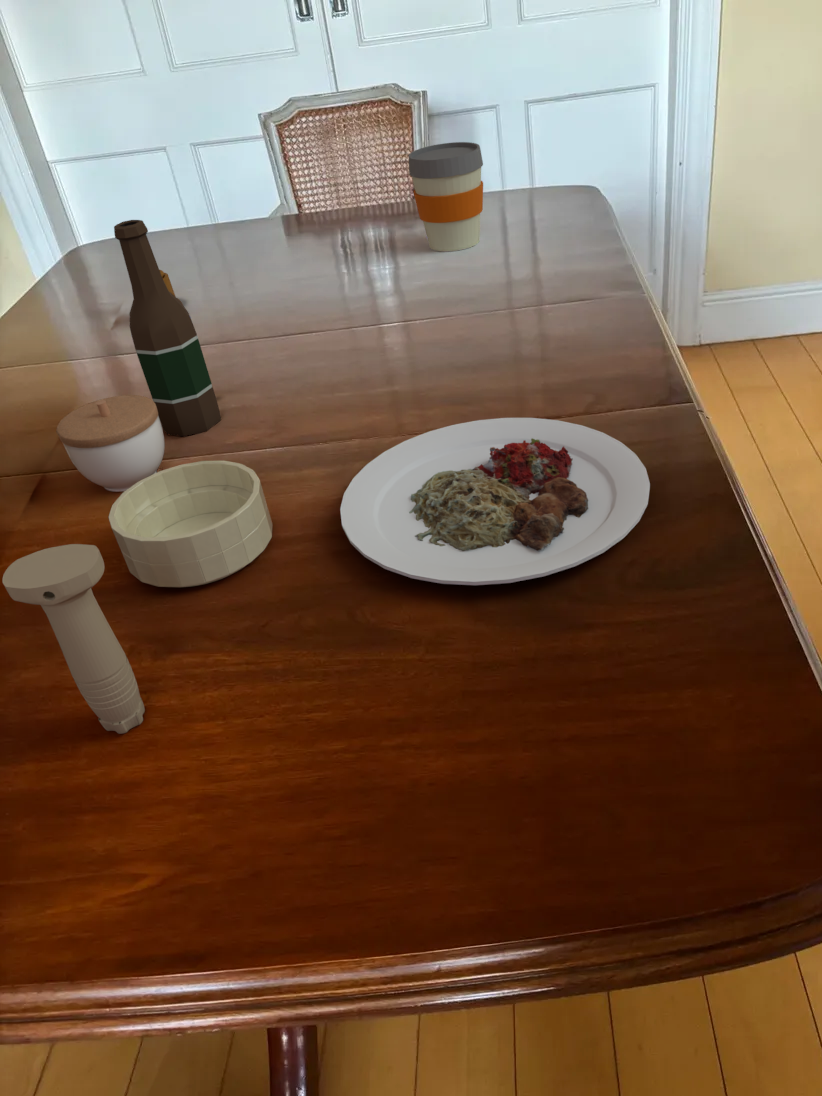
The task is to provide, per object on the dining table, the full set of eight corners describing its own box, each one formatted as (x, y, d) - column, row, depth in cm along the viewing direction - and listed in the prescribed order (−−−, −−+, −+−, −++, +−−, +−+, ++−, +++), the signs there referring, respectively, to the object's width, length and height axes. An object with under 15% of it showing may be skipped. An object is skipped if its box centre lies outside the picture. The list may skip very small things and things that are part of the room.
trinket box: (96, 514, 96) (63, 436, 91) (71, 477, 104) (39, 403, 98) (190, 478, 100) (164, 401, 95) (159, 445, 108) (133, 372, 102)
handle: (89, 707, 72) (12, 554, 62) (169, 692, 72) (104, 537, 63) (79, 751, 68) (-6, 595, 59) (163, 735, 68) (93, 577, 59)
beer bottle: (171, 411, 115) (106, 217, 101) (229, 406, 114) (172, 209, 100) (153, 440, 109) (81, 237, 95) (214, 435, 108) (151, 229, 94)
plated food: (309, 600, 79) (301, 570, 77) (376, 438, 103) (371, 411, 101) (656, 597, 74) (657, 564, 72) (644, 427, 97) (644, 398, 95)
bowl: (119, 605, 82) (96, 552, 79) (141, 524, 94) (122, 474, 90) (272, 579, 83) (256, 525, 79) (276, 501, 94) (262, 450, 90)
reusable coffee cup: (414, 240, 163) (401, 150, 154) (481, 228, 164) (473, 138, 155) (425, 259, 153) (412, 164, 144) (496, 246, 154) (488, 151, 145)
